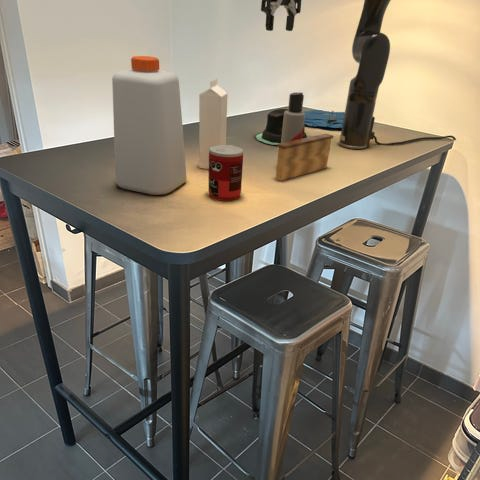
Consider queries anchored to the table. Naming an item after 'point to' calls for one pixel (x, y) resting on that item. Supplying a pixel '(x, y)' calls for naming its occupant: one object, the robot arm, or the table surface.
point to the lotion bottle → (293, 119)
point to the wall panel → (302, 156)
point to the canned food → (225, 172)
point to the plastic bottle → (148, 128)
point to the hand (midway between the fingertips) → (279, 30)
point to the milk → (211, 121)
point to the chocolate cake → (274, 128)
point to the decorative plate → (324, 118)
